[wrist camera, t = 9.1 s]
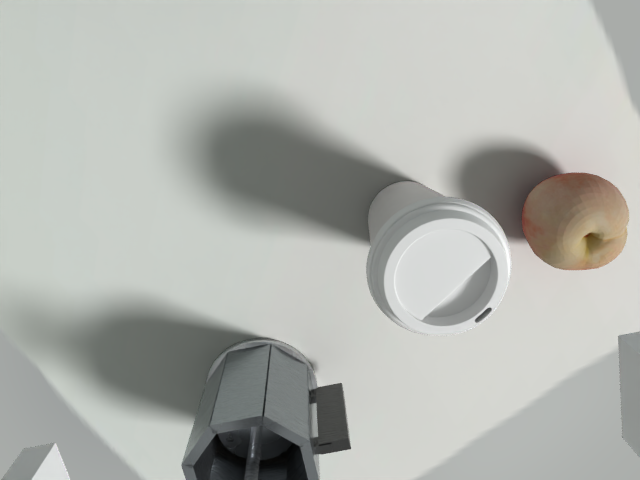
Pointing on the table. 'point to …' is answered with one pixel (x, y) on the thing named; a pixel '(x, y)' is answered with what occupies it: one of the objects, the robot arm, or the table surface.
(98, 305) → the table surface
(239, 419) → the press carafe
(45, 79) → the table surface
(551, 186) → the fruit
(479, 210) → the coffee cup
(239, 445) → the plunger
